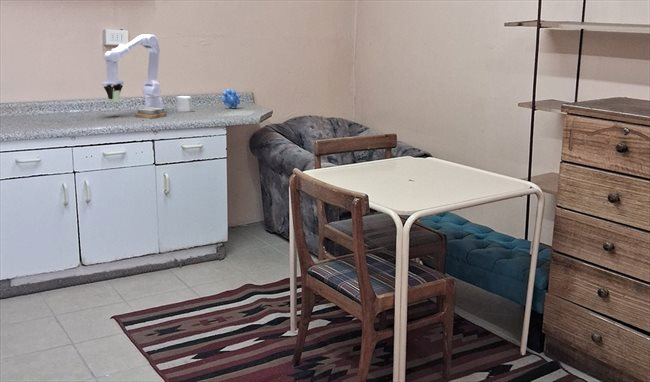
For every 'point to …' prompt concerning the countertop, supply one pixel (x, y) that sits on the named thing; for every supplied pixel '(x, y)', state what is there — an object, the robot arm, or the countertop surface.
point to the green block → (115, 96)
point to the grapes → (231, 98)
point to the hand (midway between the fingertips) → (113, 98)
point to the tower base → (150, 116)
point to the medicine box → (184, 104)
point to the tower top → (151, 111)
